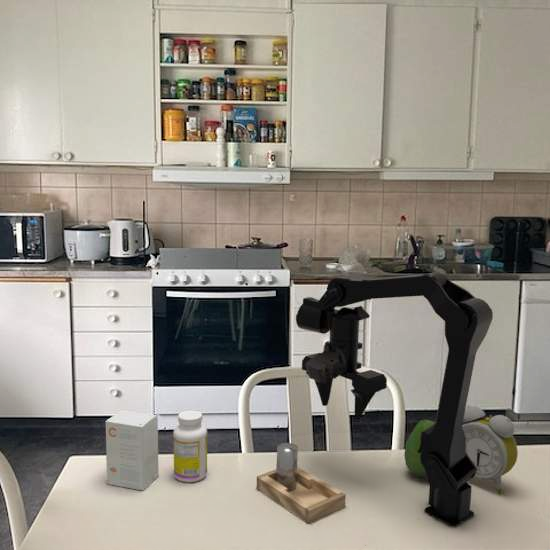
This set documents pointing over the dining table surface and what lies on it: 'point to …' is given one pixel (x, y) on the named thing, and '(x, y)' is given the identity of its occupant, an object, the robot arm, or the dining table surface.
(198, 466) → the supplement bottle
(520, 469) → the dining table surface
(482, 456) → the alarm clock
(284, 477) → the grey metal peg
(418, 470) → the avocado
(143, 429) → the small box
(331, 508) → the light brown wooden tray
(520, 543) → the dining table surface
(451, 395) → the robot arm
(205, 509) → the dining table surface
